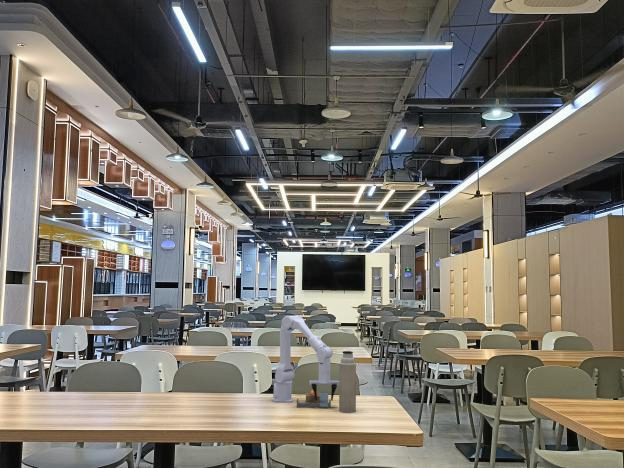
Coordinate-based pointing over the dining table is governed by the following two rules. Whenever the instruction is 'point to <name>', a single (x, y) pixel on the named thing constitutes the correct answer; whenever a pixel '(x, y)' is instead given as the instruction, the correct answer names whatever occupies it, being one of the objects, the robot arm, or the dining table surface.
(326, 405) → the block
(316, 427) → the dining table surface
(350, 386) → the thermos bottle
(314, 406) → the rail
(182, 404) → the dining table surface
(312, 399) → the square wooden frame
